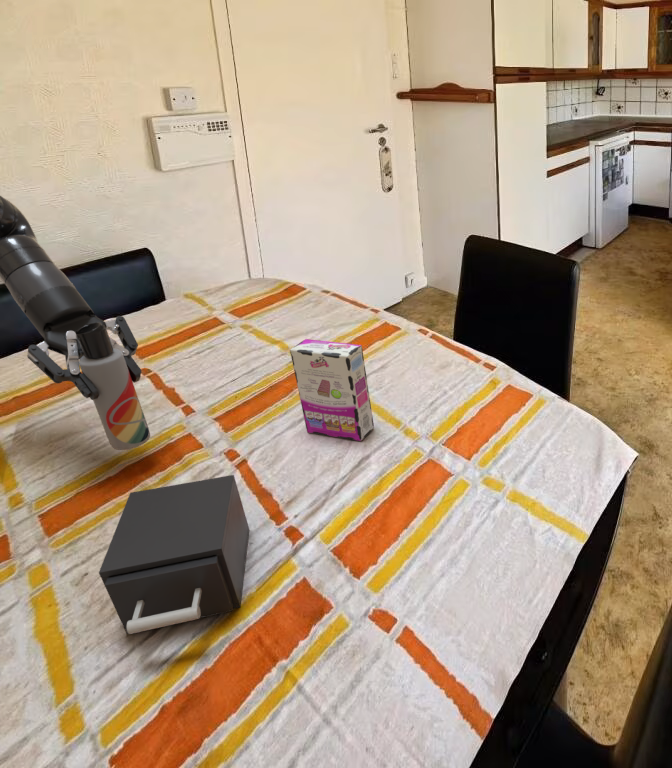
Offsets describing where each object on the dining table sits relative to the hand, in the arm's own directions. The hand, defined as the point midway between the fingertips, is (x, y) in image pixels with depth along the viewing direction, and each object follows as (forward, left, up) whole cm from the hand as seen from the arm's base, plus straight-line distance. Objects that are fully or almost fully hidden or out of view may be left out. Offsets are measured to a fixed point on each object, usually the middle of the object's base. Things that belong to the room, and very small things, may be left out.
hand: (116, 387), depth 94 cm
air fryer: (+11, -28, -15) cm, 33 cm away
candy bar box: (+31, +2, -15) cm, 35 cm away
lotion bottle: (-1, +1, -10) cm, 11 cm away
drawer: (+11, -32, -14) cm, 36 cm away
